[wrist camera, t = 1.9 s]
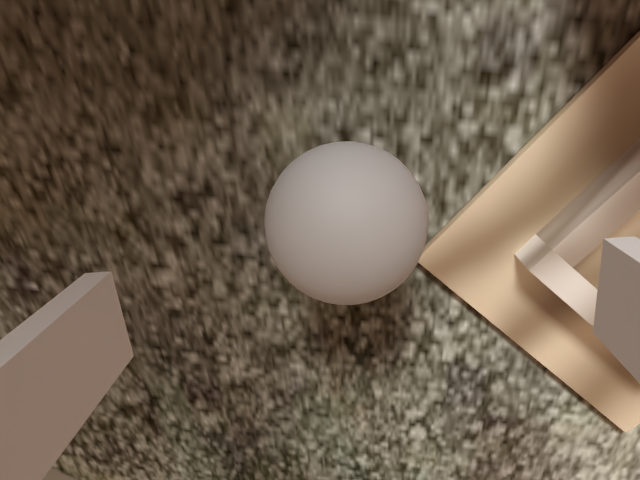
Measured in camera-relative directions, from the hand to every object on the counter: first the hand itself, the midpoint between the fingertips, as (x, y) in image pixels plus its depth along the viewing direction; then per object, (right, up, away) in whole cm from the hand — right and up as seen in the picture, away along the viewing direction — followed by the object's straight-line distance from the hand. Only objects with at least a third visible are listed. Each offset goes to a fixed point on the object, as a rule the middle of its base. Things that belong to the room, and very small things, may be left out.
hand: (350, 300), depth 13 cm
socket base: (+17, +2, +13) cm, 22 cm away
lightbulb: (+1, +5, +13) cm, 14 cm away
